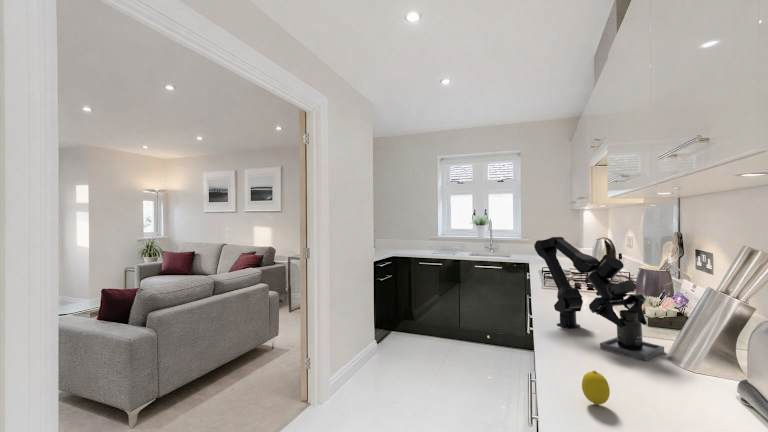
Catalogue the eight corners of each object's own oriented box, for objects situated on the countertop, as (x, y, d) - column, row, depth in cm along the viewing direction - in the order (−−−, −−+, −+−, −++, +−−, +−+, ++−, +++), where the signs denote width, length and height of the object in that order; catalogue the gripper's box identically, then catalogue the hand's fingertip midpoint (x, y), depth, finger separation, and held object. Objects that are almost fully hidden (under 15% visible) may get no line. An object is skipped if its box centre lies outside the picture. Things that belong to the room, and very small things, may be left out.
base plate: (620, 340, 119) (619, 335, 119) (664, 352, 107) (664, 346, 107) (600, 348, 112) (599, 343, 112) (645, 361, 101) (644, 355, 101)
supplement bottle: (645, 352, 105) (643, 315, 106) (619, 349, 109) (617, 313, 109) (640, 345, 111) (638, 309, 112) (616, 342, 115) (614, 308, 115)
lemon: (599, 398, 81) (597, 365, 81) (616, 411, 75) (614, 375, 75) (577, 399, 80) (575, 366, 81) (592, 412, 75) (590, 376, 75)
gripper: (593, 274, 113) (624, 314, 102) (639, 271, 116) (674, 310, 105) (577, 292, 120) (604, 332, 109) (620, 289, 124) (651, 327, 113)
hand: (633, 325), depth 109 cm, fingers open, 9 cm apart
